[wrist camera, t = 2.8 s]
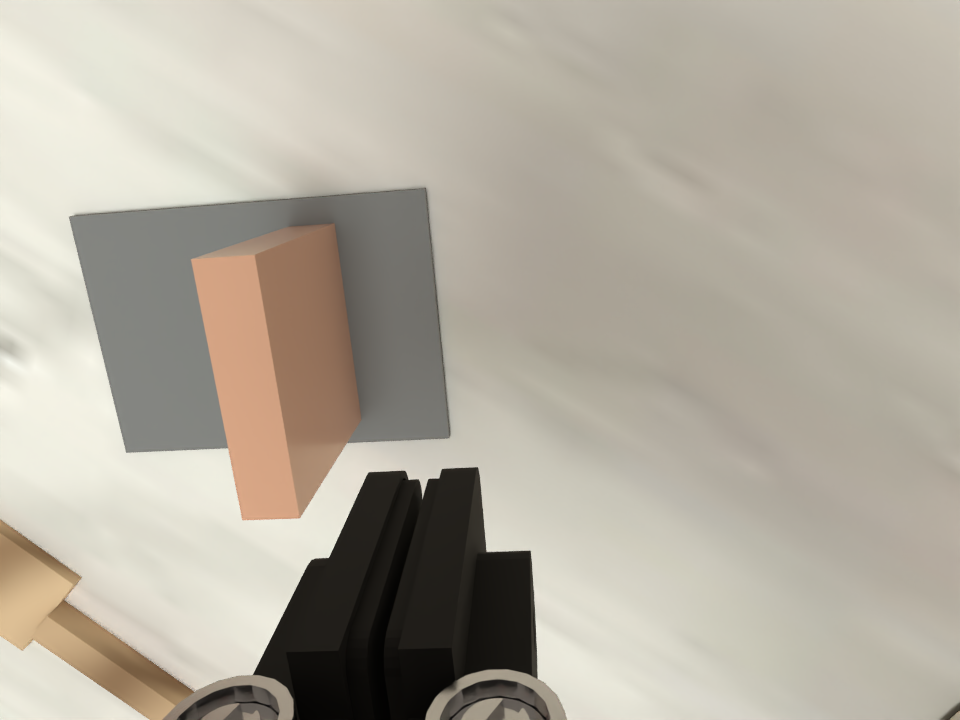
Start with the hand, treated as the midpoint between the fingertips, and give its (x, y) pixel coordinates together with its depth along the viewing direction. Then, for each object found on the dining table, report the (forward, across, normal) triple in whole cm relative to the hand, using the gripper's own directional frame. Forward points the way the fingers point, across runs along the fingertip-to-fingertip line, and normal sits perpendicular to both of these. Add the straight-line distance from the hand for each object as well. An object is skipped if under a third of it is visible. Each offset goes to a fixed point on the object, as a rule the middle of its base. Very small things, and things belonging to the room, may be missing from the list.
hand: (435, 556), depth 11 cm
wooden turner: (+18, +21, +15) cm, 31 cm away
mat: (+18, +9, +1) cm, 20 cm away
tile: (+17, +6, +1) cm, 18 cm away
